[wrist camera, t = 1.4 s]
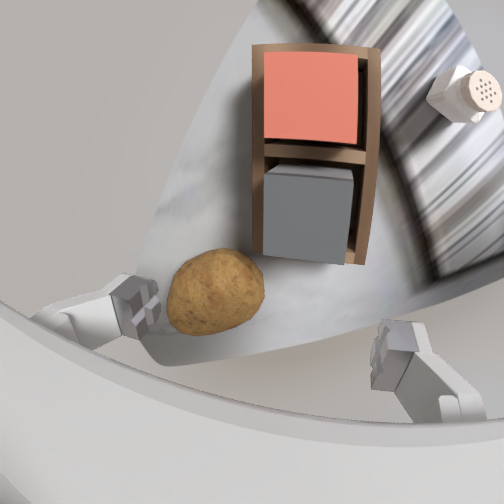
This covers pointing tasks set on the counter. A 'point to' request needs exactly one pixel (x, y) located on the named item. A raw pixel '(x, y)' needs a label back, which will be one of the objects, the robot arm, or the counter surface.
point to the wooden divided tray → (323, 144)
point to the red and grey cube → (311, 96)
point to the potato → (215, 293)
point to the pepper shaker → (464, 94)
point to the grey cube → (307, 212)
